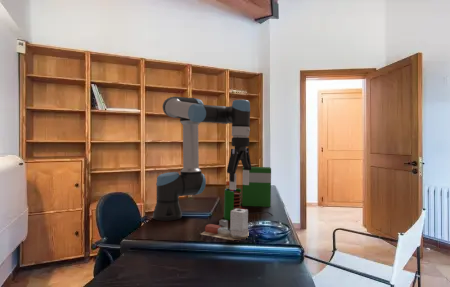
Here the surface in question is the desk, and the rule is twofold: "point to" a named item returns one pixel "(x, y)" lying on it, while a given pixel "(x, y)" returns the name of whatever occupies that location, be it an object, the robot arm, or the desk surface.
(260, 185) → the hardback book
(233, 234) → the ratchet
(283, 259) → the desk surface
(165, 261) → the desk surface
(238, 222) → the socket
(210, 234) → the tool board
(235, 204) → the motor
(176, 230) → the desk surface
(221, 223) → the socket
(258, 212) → the glasses
